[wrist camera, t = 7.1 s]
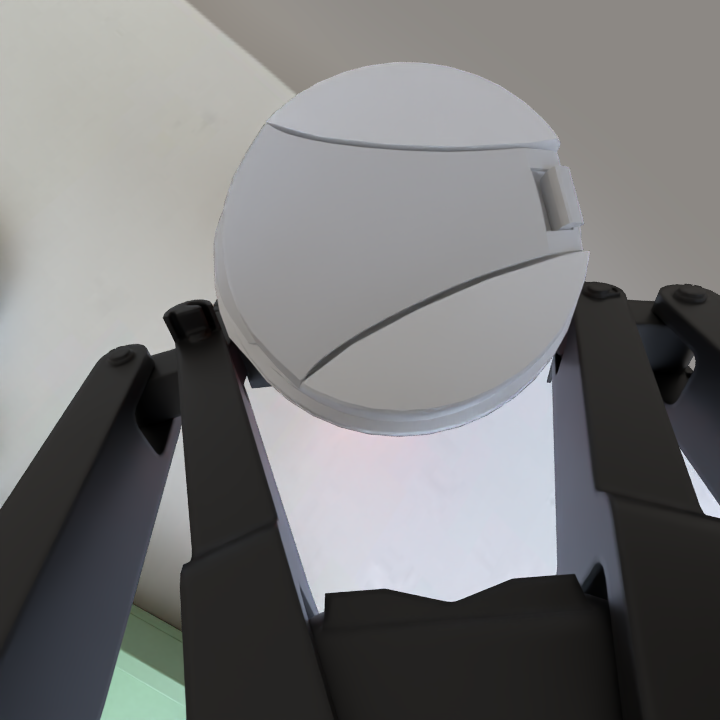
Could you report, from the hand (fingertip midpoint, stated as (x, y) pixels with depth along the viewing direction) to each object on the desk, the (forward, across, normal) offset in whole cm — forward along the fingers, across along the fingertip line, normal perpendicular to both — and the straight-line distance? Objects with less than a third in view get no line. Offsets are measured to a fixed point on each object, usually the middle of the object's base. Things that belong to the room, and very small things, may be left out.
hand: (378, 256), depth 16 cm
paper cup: (+1, 0, -6) cm, 6 cm away
